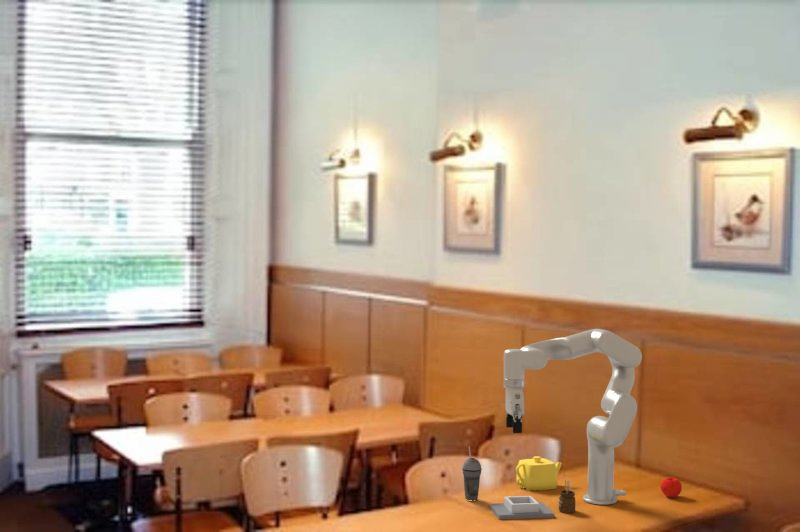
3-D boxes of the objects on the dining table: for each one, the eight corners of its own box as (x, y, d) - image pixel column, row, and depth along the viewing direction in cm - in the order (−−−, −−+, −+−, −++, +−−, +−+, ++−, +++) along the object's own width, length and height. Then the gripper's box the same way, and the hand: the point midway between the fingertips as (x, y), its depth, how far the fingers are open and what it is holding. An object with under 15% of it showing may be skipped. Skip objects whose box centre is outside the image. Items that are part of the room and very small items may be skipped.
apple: (659, 498, 367) (660, 479, 367) (660, 493, 375) (660, 474, 374) (681, 500, 365) (682, 481, 365) (681, 495, 372) (682, 476, 372)
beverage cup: (479, 503, 357) (481, 449, 357) (460, 501, 359) (461, 448, 358) (482, 497, 364) (483, 444, 364) (463, 496, 366) (464, 443, 365)
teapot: (553, 480, 391) (554, 451, 391) (569, 488, 380) (569, 458, 379) (508, 484, 385) (509, 454, 384) (523, 492, 373) (523, 462, 373)
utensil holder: (575, 509, 351) (576, 476, 351) (574, 514, 345) (575, 481, 345) (559, 508, 352) (559, 475, 352) (558, 513, 346) (558, 479, 346)
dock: (542, 506, 355) (542, 494, 354) (554, 517, 341) (554, 504, 341) (489, 507, 351) (489, 495, 351) (498, 519, 338) (499, 506, 337)
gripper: (530, 387, 344) (530, 434, 344) (518, 379, 361) (517, 424, 362) (509, 387, 343) (509, 435, 343) (498, 379, 360) (498, 425, 361)
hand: (513, 430), depth 352 cm, fingers open, 9 cm apart
